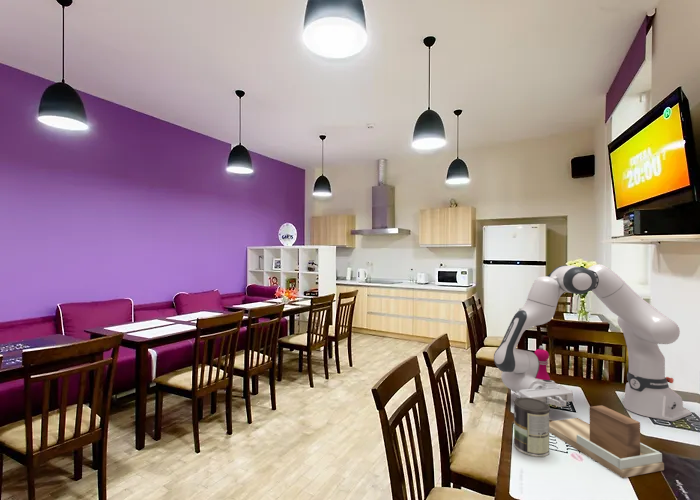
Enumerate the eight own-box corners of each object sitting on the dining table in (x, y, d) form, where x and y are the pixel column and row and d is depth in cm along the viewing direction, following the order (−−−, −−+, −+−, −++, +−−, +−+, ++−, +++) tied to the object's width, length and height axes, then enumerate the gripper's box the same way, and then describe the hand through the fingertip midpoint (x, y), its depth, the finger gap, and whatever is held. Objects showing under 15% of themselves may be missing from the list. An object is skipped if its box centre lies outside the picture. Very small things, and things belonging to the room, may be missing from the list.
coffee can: (509, 449, 114) (509, 404, 114) (518, 436, 122) (518, 394, 122) (546, 461, 107) (546, 414, 107) (552, 446, 115) (552, 402, 115)
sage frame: (614, 436, 118) (614, 429, 118) (662, 462, 104) (662, 453, 104) (576, 442, 114) (576, 434, 114) (621, 469, 100) (621, 460, 100)
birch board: (577, 423, 131) (577, 417, 131) (664, 470, 103) (663, 463, 103) (542, 428, 128) (542, 422, 128) (622, 477, 99) (622, 470, 99)
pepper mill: (553, 393, 159) (552, 348, 159) (535, 392, 160) (535, 347, 160) (547, 387, 166) (547, 344, 166) (530, 386, 167) (530, 343, 167)
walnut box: (602, 439, 116) (602, 405, 116) (640, 460, 104) (640, 422, 104) (589, 441, 115) (589, 406, 115) (626, 462, 103) (626, 424, 103)
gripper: (511, 384, 139) (538, 398, 126) (555, 379, 144) (585, 393, 131) (511, 400, 139) (538, 416, 126) (555, 395, 144) (585, 410, 131)
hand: (562, 404), depth 129 cm, fingers closed
